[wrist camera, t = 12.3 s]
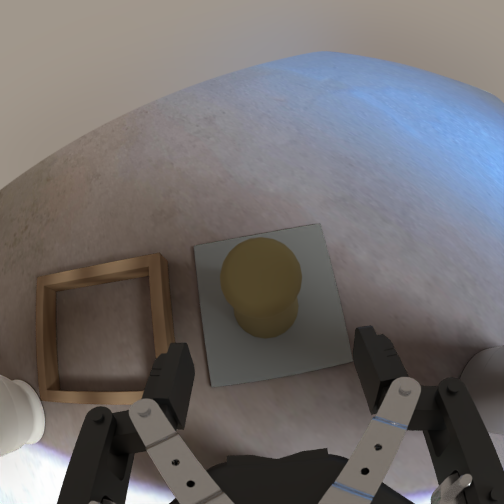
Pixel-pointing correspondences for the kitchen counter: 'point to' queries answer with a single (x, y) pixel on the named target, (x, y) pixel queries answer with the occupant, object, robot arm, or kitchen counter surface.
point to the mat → (295, 338)
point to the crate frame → (90, 276)
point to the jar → (19, 415)
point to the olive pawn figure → (262, 286)
